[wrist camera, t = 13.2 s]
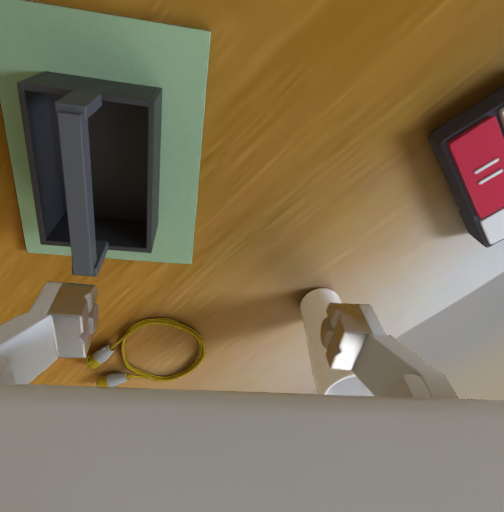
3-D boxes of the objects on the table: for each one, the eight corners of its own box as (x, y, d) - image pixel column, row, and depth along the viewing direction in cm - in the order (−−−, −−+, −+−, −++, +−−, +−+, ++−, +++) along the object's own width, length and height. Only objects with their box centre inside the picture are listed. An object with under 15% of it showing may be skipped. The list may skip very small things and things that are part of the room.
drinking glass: (349, 281, 51) (395, 373, 38) (338, 321, 54) (377, 417, 42) (297, 280, 50) (327, 374, 37) (290, 321, 53) (315, 418, 41)
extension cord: (81, 314, 49) (77, 325, 48) (207, 317, 52) (207, 327, 50) (91, 380, 56) (88, 391, 54) (203, 380, 58) (203, 391, 56)
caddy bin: (44, 70, 34) (-16, 94, 25) (162, 87, 36) (146, 116, 26) (60, 215, 41) (18, 275, 32) (158, 224, 43) (144, 283, 34)
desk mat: (-15, -7, 31) (-20, -7, 31) (211, 30, 34) (210, 31, 34) (29, 248, 44) (26, 252, 43) (192, 260, 47) (191, 264, 46)
